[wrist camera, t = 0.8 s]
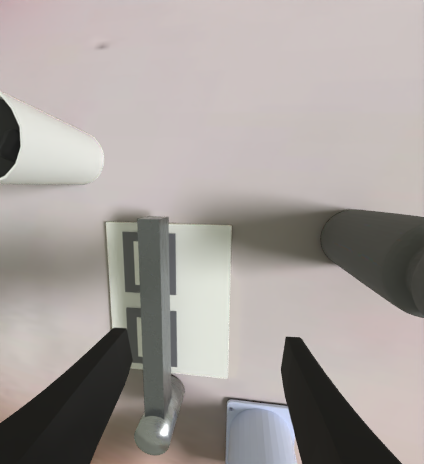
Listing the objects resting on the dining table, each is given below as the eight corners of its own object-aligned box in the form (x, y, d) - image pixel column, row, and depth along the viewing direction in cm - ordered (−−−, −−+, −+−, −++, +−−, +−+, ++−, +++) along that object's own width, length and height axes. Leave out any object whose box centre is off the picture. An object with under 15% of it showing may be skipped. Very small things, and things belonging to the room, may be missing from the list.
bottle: (309, 250, 24) (418, 336, 9) (339, 199, 23) (518, 204, 8) (361, 275, 24) (558, 406, 9) (394, 225, 22) (682, 279, 8)
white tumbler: (113, 135, 25) (28, 94, 15) (102, 195, 26) (16, 195, 16) (57, 119, 25) (-61, 70, 15) (48, 179, 26) (-66, 170, 17)
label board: (227, 374, 27) (227, 380, 26) (117, 363, 29) (113, 368, 28) (231, 224, 24) (231, 226, 24) (108, 221, 26) (104, 222, 25)
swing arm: (184, 403, 28) (170, 457, 22) (156, 399, 29) (135, 452, 23) (183, 214, 25) (165, 220, 19) (151, 214, 25) (123, 219, 19)
